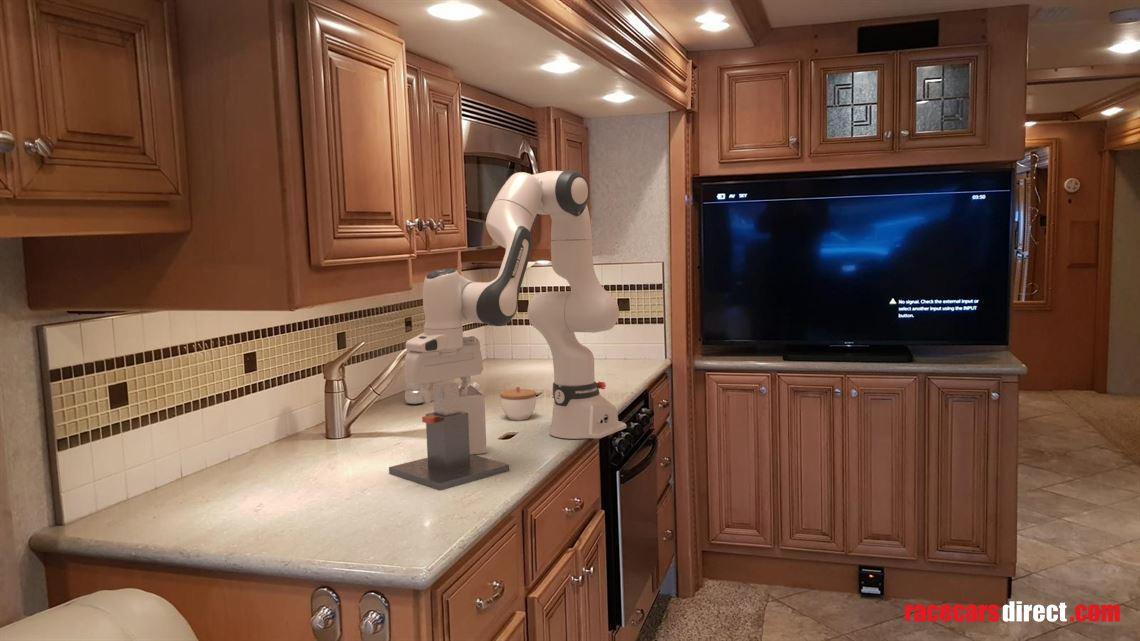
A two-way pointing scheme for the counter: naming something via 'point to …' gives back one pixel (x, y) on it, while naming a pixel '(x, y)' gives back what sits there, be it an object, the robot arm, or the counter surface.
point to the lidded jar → (518, 403)
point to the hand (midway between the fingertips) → (446, 398)
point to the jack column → (446, 398)
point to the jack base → (448, 456)
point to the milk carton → (475, 417)
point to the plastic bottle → (413, 394)
